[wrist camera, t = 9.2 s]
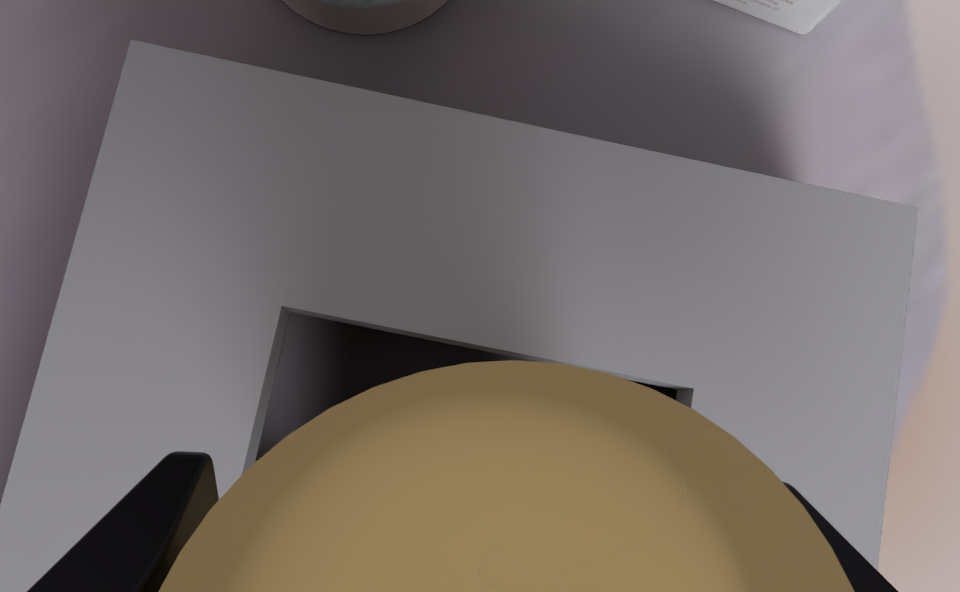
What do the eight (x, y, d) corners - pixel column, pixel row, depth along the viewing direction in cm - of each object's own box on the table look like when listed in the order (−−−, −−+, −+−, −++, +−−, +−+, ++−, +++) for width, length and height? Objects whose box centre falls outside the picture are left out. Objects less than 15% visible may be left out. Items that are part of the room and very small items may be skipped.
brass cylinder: (486, 673, 17) (674, 1380, 5) (290, 556, 18) (-61, 934, 5) (596, 471, 18) (1009, 595, 5) (408, 359, 18) (384, 226, 6)
